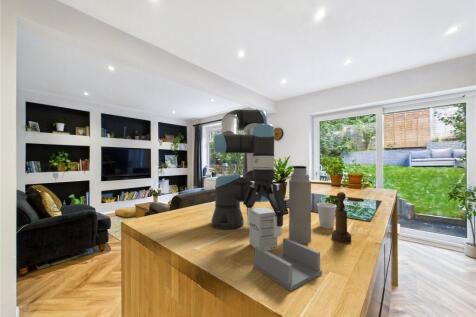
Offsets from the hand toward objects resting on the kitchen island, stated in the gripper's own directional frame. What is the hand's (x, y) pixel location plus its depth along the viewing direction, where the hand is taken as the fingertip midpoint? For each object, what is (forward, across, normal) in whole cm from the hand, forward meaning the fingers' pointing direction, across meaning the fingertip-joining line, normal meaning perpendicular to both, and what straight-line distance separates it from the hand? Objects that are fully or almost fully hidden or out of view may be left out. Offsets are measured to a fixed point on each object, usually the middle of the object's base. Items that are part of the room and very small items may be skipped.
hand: (263, 230), depth 69 cm
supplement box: (+6, 0, 0) cm, 6 cm away
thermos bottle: (+6, +3, +16) cm, 17 cm away
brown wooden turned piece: (+6, +12, +29) cm, 32 cm away
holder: (+6, +15, -5) cm, 16 cm away
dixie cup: (+6, 0, +39) cm, 40 cm away
